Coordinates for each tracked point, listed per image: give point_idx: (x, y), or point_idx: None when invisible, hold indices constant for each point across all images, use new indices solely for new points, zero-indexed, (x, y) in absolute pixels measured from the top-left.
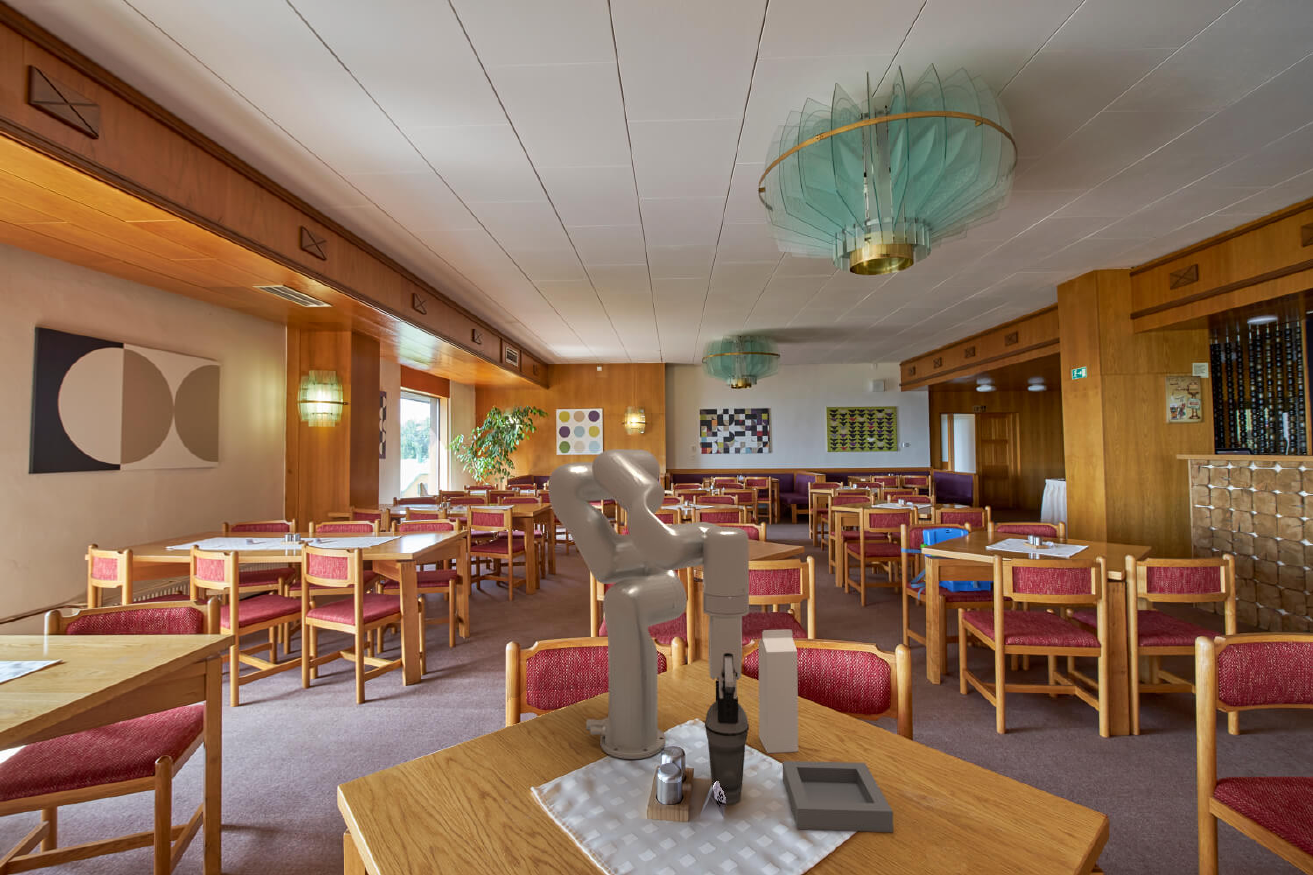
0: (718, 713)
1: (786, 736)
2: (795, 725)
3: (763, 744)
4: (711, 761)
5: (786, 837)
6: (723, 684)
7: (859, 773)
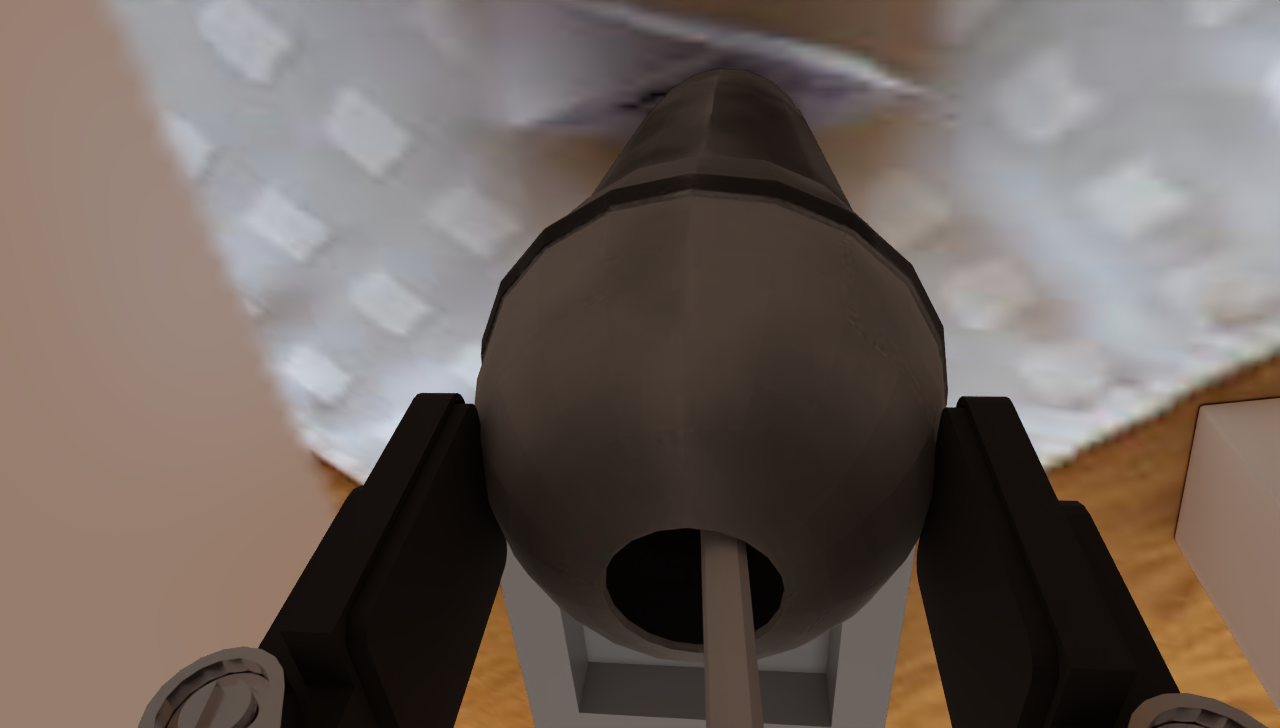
0: (383, 461)
1: (1225, 558)
2: (1247, 649)
3: None
4: (657, 132)
5: (436, 387)
6: (1002, 713)
7: (791, 726)
